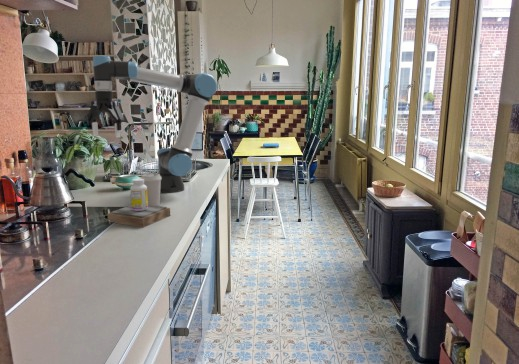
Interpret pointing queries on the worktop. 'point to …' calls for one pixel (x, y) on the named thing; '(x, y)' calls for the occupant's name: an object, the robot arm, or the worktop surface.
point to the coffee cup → (152, 187)
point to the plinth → (139, 215)
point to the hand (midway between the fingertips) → (106, 136)
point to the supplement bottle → (139, 195)
